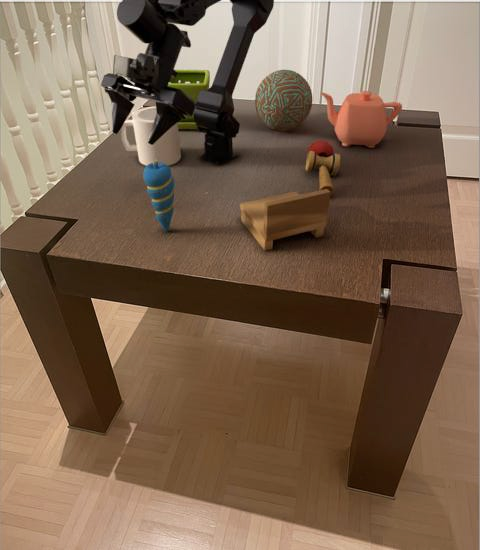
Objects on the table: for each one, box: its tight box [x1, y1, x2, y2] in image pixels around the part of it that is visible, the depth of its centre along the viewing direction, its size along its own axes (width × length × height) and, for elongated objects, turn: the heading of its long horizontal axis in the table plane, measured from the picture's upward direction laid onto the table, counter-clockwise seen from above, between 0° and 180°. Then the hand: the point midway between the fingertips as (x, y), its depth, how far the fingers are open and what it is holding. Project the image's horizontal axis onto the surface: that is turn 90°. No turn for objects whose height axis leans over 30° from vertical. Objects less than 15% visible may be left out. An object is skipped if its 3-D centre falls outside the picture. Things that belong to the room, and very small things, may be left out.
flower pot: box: [168, 69, 211, 130], centre depth 124 cm, size 14×14×13 cm
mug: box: [120, 105, 182, 167], centre depth 108 cm, size 14×10×11 cm
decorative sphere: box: [254, 69, 313, 132], centre depth 120 cm, size 15×15×15 cm
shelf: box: [239, 189, 331, 252], centre depth 84 cm, size 12×12×10 cm
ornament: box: [142, 157, 175, 232], centre depth 82 cm, size 5×5×15 cm
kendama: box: [305, 139, 341, 197], centre depth 101 cm, size 8×6×18 cm
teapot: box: [320, 90, 403, 149], centre depth 114 cm, size 13×20×12 cm, turn 81°
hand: (131, 138), depth 85 cm, fingers open, 9 cm apart
